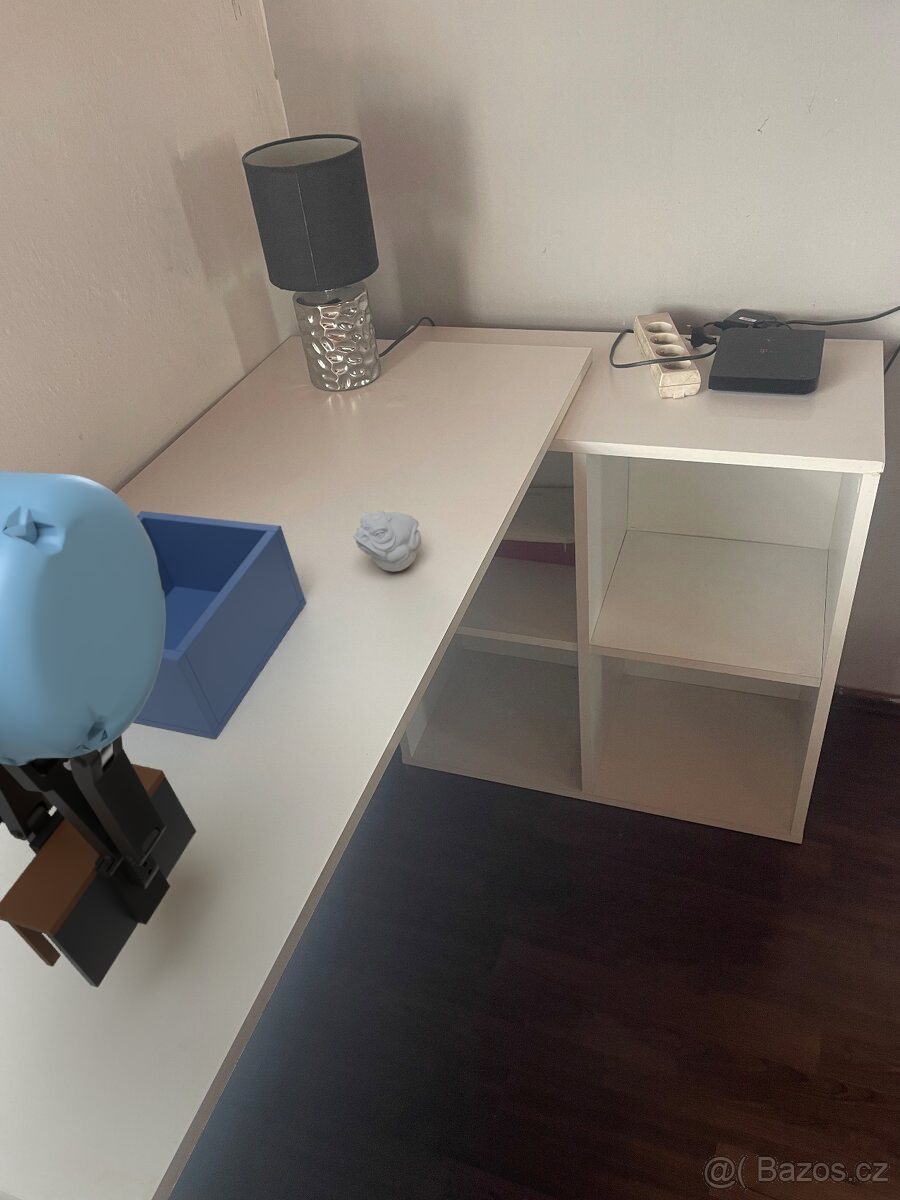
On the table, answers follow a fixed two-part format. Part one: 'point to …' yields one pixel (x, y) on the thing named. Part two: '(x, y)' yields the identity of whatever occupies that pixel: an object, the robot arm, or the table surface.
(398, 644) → the table surface
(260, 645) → the bin
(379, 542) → the frog figurine
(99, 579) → the robot arm
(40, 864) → the two-tone wooden bracket
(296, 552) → the table surface
